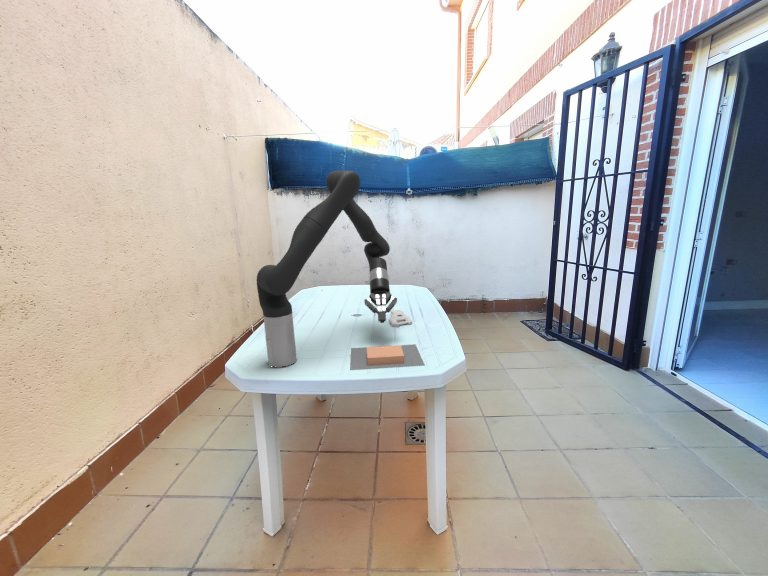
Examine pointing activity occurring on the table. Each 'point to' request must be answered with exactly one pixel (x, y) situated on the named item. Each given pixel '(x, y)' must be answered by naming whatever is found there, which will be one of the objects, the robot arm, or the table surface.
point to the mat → (360, 362)
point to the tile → (385, 355)
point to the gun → (399, 318)
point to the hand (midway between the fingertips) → (382, 321)
